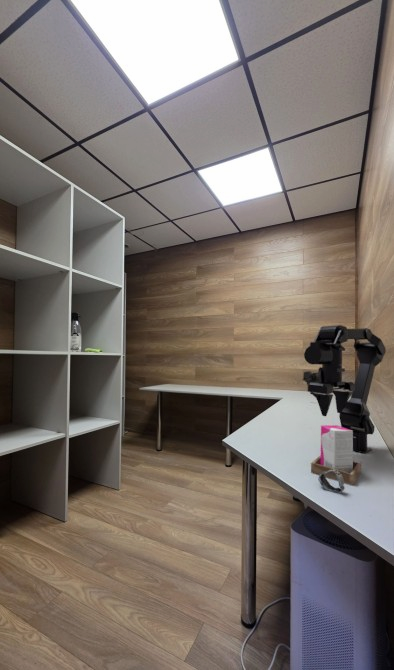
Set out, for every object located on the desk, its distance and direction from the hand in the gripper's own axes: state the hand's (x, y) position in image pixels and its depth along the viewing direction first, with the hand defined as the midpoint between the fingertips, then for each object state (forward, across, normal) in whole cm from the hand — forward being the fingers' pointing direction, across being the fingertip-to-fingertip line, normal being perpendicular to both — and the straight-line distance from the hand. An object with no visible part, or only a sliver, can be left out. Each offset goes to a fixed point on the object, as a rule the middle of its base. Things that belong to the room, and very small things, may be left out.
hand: (331, 414), depth 84 cm
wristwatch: (+13, +21, +10) cm, 27 cm away
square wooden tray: (+13, +10, +6) cm, 18 cm away
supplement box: (+13, +10, +6) cm, 18 cm away
